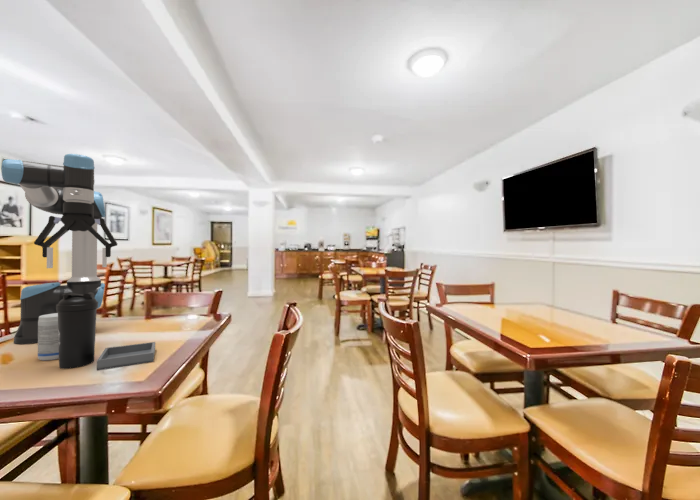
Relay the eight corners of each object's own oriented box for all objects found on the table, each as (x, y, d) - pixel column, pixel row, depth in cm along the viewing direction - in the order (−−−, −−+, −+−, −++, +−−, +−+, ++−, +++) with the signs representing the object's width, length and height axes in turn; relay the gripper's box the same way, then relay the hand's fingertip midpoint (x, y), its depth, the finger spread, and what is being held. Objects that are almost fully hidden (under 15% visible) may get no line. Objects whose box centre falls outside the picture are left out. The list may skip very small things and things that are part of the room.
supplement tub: (72, 358, 105) (72, 315, 105) (33, 363, 100) (33, 318, 100) (77, 350, 113) (78, 310, 113) (42, 355, 108) (42, 313, 108)
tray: (105, 356, 106) (105, 347, 106) (155, 349, 114) (155, 341, 114) (96, 370, 94) (97, 360, 94) (153, 361, 101) (153, 352, 101)
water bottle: (64, 361, 102) (65, 292, 102) (102, 357, 106) (102, 290, 106) (48, 371, 93) (49, 296, 93) (90, 366, 97) (91, 294, 97)
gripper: (20, 197, 90) (19, 269, 90) (124, 204, 103) (123, 267, 103) (30, 201, 97) (29, 268, 97) (127, 207, 110) (126, 266, 109)
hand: (78, 267), depth 100 cm, fingers open, 13 cm apart
